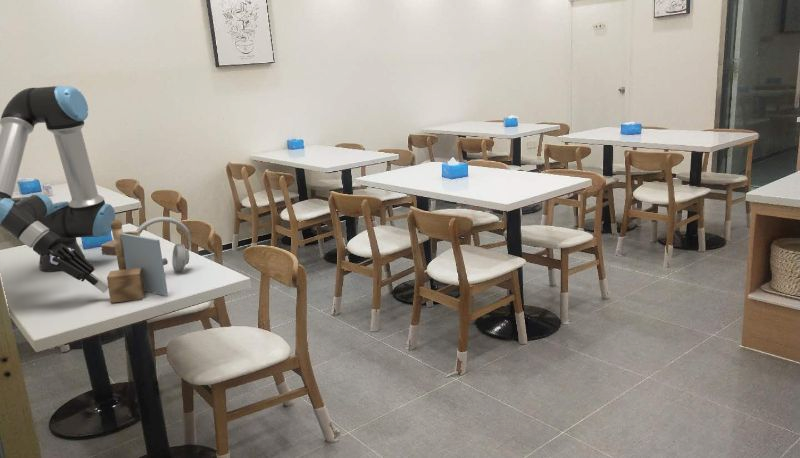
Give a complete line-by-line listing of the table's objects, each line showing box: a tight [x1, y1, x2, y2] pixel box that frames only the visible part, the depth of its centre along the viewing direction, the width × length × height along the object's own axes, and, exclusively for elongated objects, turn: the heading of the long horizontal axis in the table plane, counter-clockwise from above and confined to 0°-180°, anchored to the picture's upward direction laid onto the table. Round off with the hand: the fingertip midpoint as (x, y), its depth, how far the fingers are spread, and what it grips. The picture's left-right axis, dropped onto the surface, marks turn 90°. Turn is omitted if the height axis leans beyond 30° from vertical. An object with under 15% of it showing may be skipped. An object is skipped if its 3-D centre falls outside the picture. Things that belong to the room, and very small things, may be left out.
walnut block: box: [106, 268, 146, 304], centre depth 187 cm, size 9×7×8 cm
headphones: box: [135, 216, 192, 272], centre depth 207 cm, size 19×9×20 cm, turn 120°
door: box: [120, 233, 169, 296], centre depth 191 cm, size 4×20×18 cm, turn 55°
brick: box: [100, 239, 116, 256], centre depth 239 cm, size 17×8×5 cm, turn 65°
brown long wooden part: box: [110, 219, 141, 270], centre depth 196 cm, size 8×3×22 cm, turn 93°
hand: (107, 288), depth 187 cm, fingers closed
